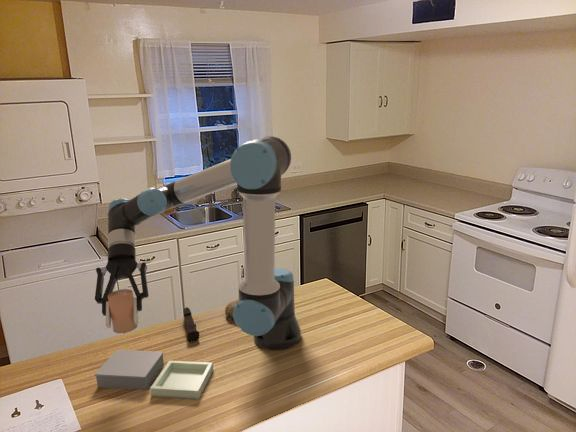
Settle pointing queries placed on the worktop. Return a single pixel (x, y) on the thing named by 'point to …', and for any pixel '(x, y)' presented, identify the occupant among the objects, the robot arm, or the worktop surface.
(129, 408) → the worktop surface
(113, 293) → the terracotta domed cylinder
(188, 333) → the hand tool
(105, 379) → the grey square plinth
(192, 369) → the tray
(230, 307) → the bread roll
